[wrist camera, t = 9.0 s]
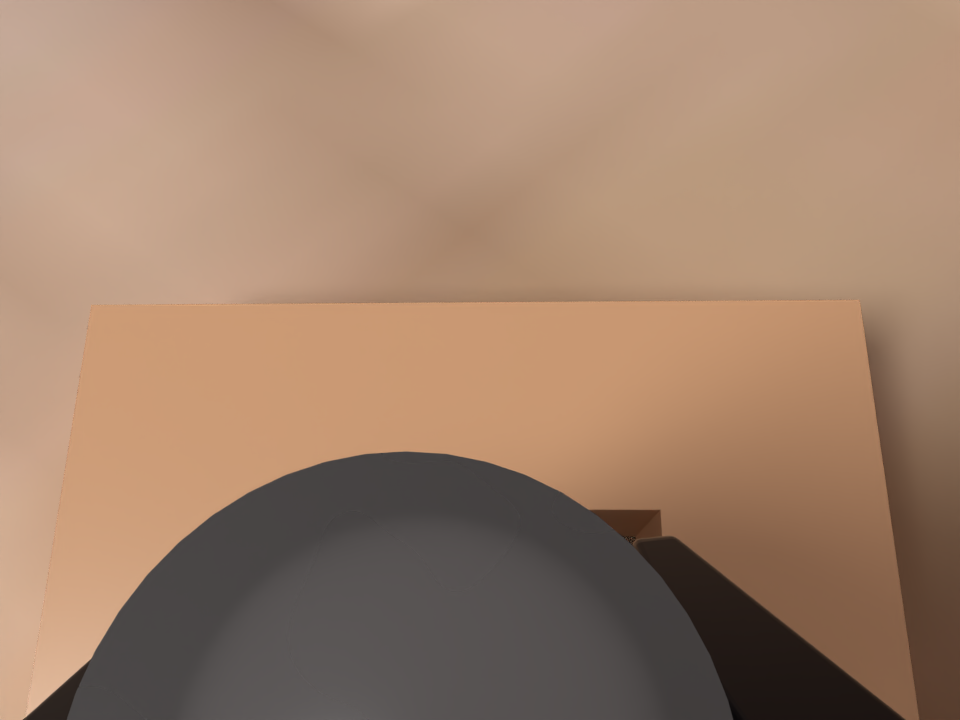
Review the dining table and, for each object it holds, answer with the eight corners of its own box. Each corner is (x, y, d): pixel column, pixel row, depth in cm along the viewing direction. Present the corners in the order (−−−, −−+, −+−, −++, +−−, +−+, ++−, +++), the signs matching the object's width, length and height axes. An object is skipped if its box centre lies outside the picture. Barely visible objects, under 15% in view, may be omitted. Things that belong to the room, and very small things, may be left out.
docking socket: (900, 1172, 13) (1004, 1308, 11) (52, 1151, 14) (-65, 1273, 11) (804, 358, 18) (860, 299, 15) (157, 361, 18) (91, 304, 15)
